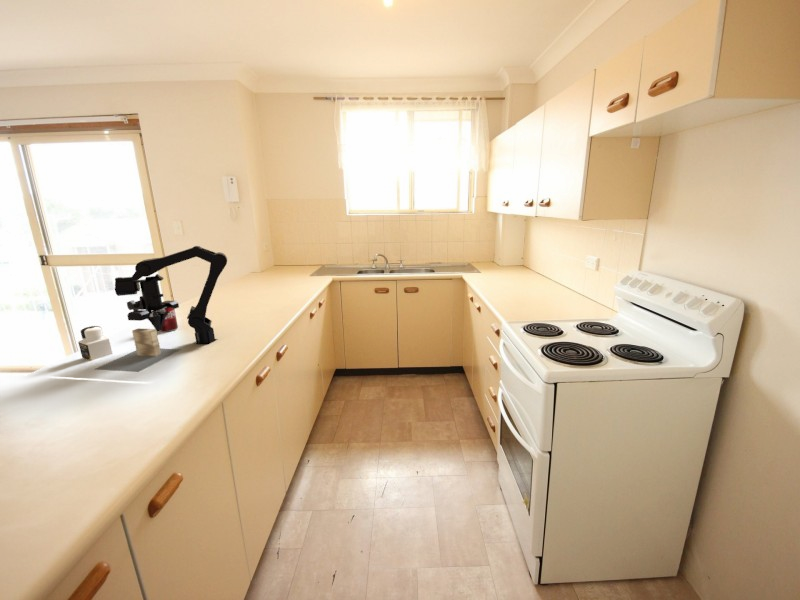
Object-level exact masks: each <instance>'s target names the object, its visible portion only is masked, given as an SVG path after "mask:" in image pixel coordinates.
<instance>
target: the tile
mask: <svg viewBox="0 0 800 600" xmlns="http://www.w3.org/2000/svg"><path fill="white" fill-rule="evenodd" d="M131 333H132V336H133V340H134V341H133V342H134V346H135V351H136V350H137V355H142V356H157V355H159V354H161V350H160V348H161V347H160V342H159V338H158V337H159V336H158V331H157V330H156V329H155V328H135V329H133V330H132V332H131Z"/></svg>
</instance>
